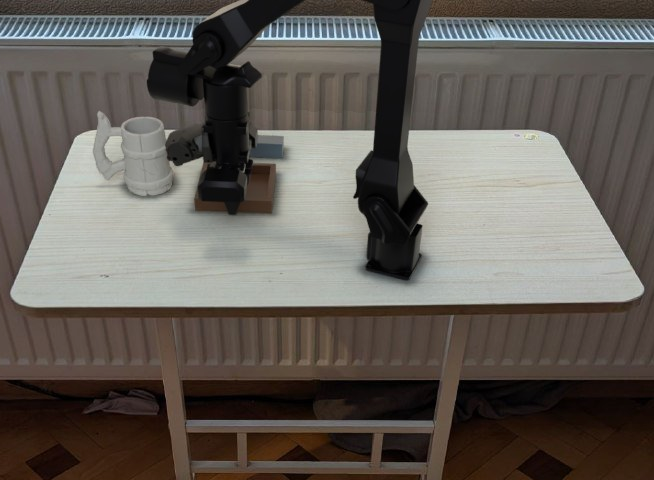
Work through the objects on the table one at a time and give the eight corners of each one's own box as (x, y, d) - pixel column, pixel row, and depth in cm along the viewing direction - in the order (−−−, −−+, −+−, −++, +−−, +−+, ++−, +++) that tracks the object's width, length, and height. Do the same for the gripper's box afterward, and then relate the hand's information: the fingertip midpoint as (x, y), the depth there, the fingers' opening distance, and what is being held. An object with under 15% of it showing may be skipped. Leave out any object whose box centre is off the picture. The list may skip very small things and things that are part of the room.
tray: (271, 213, 126) (271, 201, 125) (195, 210, 126) (194, 198, 124) (276, 175, 134) (275, 163, 133) (204, 173, 134) (203, 161, 133)
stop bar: (282, 158, 139) (282, 144, 137) (210, 155, 139) (209, 141, 137) (283, 149, 141) (283, 135, 139) (213, 146, 141) (212, 132, 139)
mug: (174, 196, 129) (166, 122, 120) (96, 198, 128) (82, 124, 119) (175, 172, 134) (167, 100, 126) (100, 174, 133) (88, 101, 125)
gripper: (178, 80, 118) (188, 179, 129) (153, 141, 105) (166, 246, 116) (256, 83, 118) (259, 182, 129) (241, 144, 105) (246, 250, 115)
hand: (232, 213), depth 122 cm, fingers closed
